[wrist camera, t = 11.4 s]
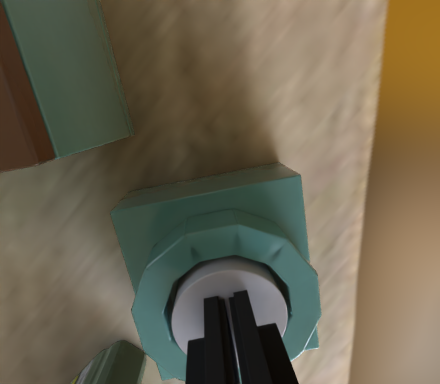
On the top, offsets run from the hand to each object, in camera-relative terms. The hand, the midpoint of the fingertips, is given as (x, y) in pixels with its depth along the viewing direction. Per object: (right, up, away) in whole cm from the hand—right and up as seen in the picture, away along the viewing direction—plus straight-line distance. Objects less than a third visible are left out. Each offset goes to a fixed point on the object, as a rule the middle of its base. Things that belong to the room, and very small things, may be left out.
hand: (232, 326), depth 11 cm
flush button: (0, +1, +2) cm, 2 cm away
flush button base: (-1, +2, +5) cm, 6 cm away
